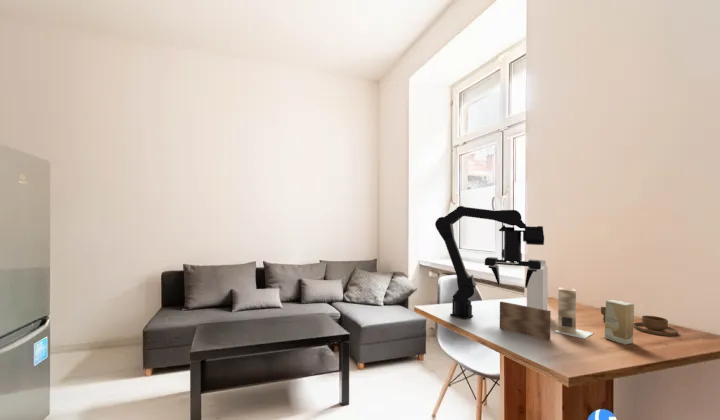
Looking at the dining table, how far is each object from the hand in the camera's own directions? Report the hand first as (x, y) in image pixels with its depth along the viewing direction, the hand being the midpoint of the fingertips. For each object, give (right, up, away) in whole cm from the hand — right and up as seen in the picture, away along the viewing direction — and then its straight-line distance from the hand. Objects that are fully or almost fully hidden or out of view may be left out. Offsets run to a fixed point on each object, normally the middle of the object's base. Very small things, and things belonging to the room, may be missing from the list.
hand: (512, 286), depth 131 cm
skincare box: (+25, -13, -19) cm, 34 cm away
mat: (+16, -13, -12) cm, 23 cm away
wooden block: (+14, -13, -10) cm, 22 cm away
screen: (-2, -13, -14) cm, 19 cm away
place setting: (+45, -15, -3) cm, 47 cm away
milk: (+14, -14, +9) cm, 22 cm away
